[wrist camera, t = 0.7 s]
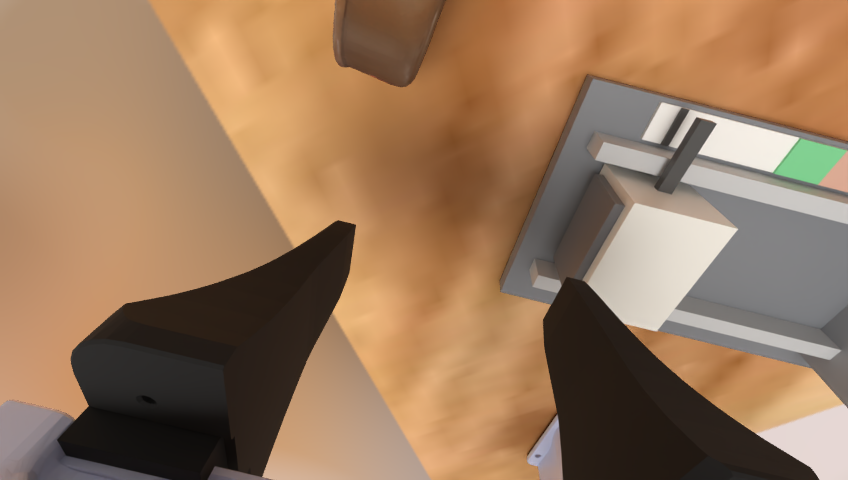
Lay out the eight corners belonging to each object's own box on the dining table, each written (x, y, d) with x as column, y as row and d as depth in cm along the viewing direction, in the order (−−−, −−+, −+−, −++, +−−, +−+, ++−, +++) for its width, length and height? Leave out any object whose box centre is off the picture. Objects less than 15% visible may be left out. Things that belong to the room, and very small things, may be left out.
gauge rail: (813, 358, 24) (923, 477, 18) (499, 281, 23) (507, 377, 17) (1018, 185, 17) (1299, 284, 11) (587, 74, 17) (646, 117, 11)
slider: (627, 276, 21) (656, 331, 17) (548, 257, 21) (562, 308, 17) (731, 120, 16) (798, 153, 13) (629, 94, 16) (669, 120, 13)
